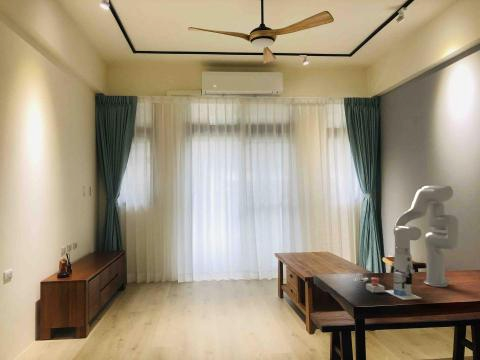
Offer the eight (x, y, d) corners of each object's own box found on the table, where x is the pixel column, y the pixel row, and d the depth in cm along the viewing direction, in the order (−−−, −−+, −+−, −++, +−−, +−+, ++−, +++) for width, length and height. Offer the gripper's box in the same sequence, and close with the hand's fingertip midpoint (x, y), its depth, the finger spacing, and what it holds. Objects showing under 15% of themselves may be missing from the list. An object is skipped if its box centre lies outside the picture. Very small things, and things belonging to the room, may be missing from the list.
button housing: (377, 288, 204) (377, 283, 204) (384, 291, 197) (384, 286, 197) (366, 289, 203) (366, 283, 203) (373, 292, 196) (373, 287, 196)
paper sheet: (401, 290, 201) (401, 289, 201) (421, 298, 186) (421, 298, 186) (384, 291, 199) (384, 290, 199) (403, 299, 183) (403, 299, 183)
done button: (376, 285, 203) (376, 277, 203) (380, 287, 198) (380, 279, 198) (369, 286, 202) (369, 277, 202) (373, 288, 197) (373, 279, 198)
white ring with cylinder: (369, 280, 223) (369, 274, 223) (364, 283, 217) (364, 276, 217) (356, 278, 228) (356, 272, 229) (351, 280, 222) (351, 274, 223)
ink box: (400, 296, 188) (400, 274, 189) (393, 293, 193) (393, 272, 193) (411, 294, 192) (411, 272, 192) (404, 291, 196) (404, 270, 197)
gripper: (419, 253, 185) (420, 285, 185) (398, 247, 202) (398, 277, 202) (407, 253, 184) (407, 286, 184) (386, 248, 201) (387, 278, 201)
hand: (402, 281), depth 193 cm, fingers open, 9 cm apart
